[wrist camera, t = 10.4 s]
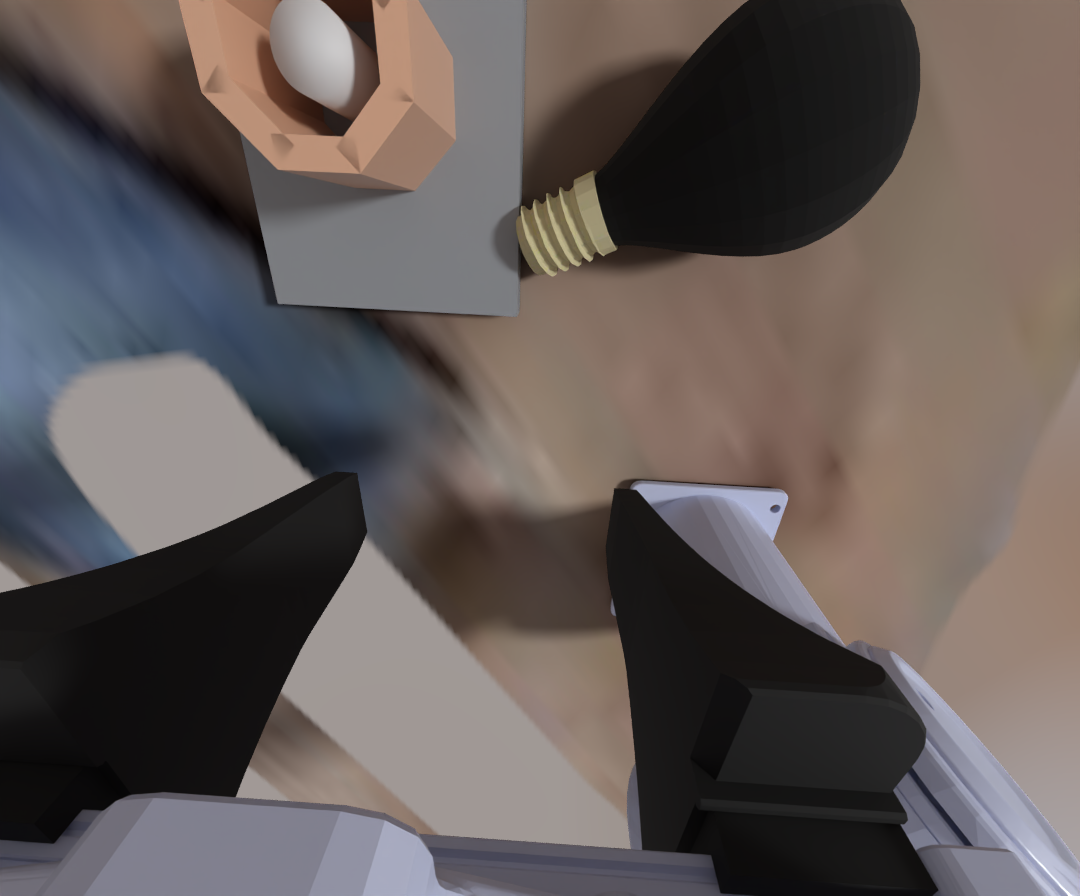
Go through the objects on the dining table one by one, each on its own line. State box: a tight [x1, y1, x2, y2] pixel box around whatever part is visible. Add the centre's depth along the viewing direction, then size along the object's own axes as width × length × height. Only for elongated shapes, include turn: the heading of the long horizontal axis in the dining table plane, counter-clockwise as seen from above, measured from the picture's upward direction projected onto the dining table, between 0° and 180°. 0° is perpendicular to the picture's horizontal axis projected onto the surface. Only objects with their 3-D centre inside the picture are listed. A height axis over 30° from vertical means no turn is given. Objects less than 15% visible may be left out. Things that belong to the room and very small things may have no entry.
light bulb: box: [516, 0, 920, 277], centre depth 14 cm, size 7×7×12 cm
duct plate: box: [240, 0, 526, 317], centre depth 13 cm, size 14×10×5 cm
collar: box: [179, 0, 456, 191], centre depth 12 cm, size 6×5×5 cm
